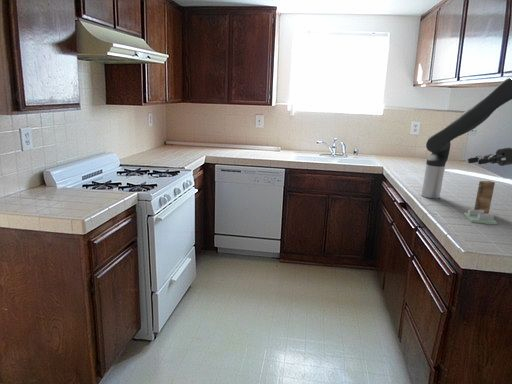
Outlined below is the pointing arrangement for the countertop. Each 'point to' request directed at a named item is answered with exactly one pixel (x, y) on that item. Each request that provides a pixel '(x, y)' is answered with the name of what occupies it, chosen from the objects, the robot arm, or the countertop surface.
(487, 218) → the hinge base
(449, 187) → the countertop surface
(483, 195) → the door
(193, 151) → the countertop surface
